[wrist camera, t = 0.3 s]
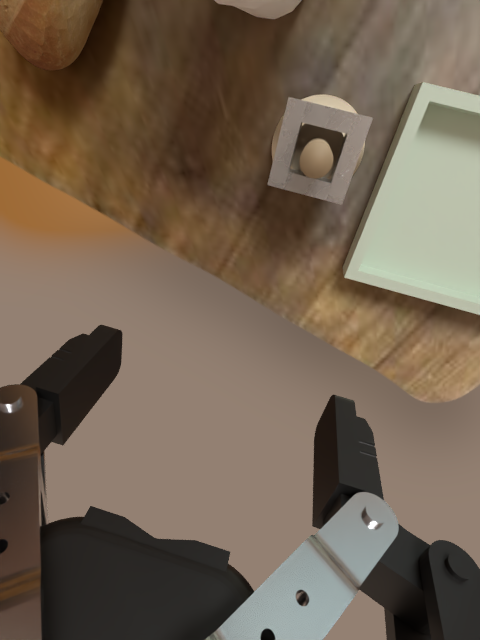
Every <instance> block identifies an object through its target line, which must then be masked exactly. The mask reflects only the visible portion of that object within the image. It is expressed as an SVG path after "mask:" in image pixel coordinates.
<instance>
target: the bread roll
mask: <svg viewBox="0 0 480 640" xmlns="http://www.w3.org/2000/svg"><path fill="white" fill-rule="evenodd" d="M102 2H103V0H0V30H1V31H2V32H3V34H4V36H5V37H6V38H7V39H8V40H9V42H10V43H11V44H12V45H13V46H14V48H15V49H16V50H17V51H18V52H19V53H20V54H21V55H22V56H23V57H24V58H25V59H26V60H27V61H29V62H30V63H32V64H33V65H34V66H36V67H39V68H41V69H44V70H60V69H63V68H65V67H67V66H69V65H70V64H71V63H73V62H74V61H75V60H76V59H77V57H78V56H79V54H80V53H81V51H82V49H83V47H84V45H85V43H86V41H87V38H88V36H89V33H90V31H91V29H92V26H93V24H94V22H95V19H96V17H97V15H98V13H99V9H100V7H101V4H102Z"/></svg>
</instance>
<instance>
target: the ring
mask: <svg viewBox="0 0 480 640" xmlns="http://www.w3.org/2000/svg"><path fill="white" fill-rule="evenodd" d="M372 119H373V118H372V117H368V116H364V115H360V114H356V113H352V112H348V111H344V110H340V109H336V108H332V107H327V106H323V105H319V104H315V103H311V102H307V101H303V100H299V99H295V98H291V97H289V98H288V102H287V106H286V110H285V114H284V118H283V123H282V127H281V131H280V135H279V139H278V143H277V147H276V151H275V155H274V160H273V164H272V168H271V172H270V176H269V180H268V184H267V185H269V186H273V187H277V188H280V189H284V190H288V191H292V192H295V193H299V194H303V195H307V196H310V197H314V198H318V199H322V200H326V201H329V202H333V203H337V204H341V205H342V203H343V200H344V198H345V195H346V192H347V189H348V186H349V184H350V181H351V178H352V175H353V172H354V170H355V167H356V164H357V161H358V158H359V156H360V153H361V150H362V147H363V144H364V142H365V139H366V136H367V133H368V130H369V128H370V125H371V122H372ZM302 123H306V124H310V125H314V126H318V127H322V128H326V129H330V130H334V131H338V132H342V133H345V136H344V139H343V142H342V145H341V148H340V151H339V154H338V157H337V160H336V163H335V166H334V169H333V172H332V175H331V178H326V177H321V178H316V179H314V178H309V177H307V176H306V175H305V174H304V173H303V172H302V171H299V170H295V169H291V168H290V167H291V163H292V160H293V156H294V152H295V148H296V145H297V141H298V137H299V134H300V130H301V126H302Z"/></svg>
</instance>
